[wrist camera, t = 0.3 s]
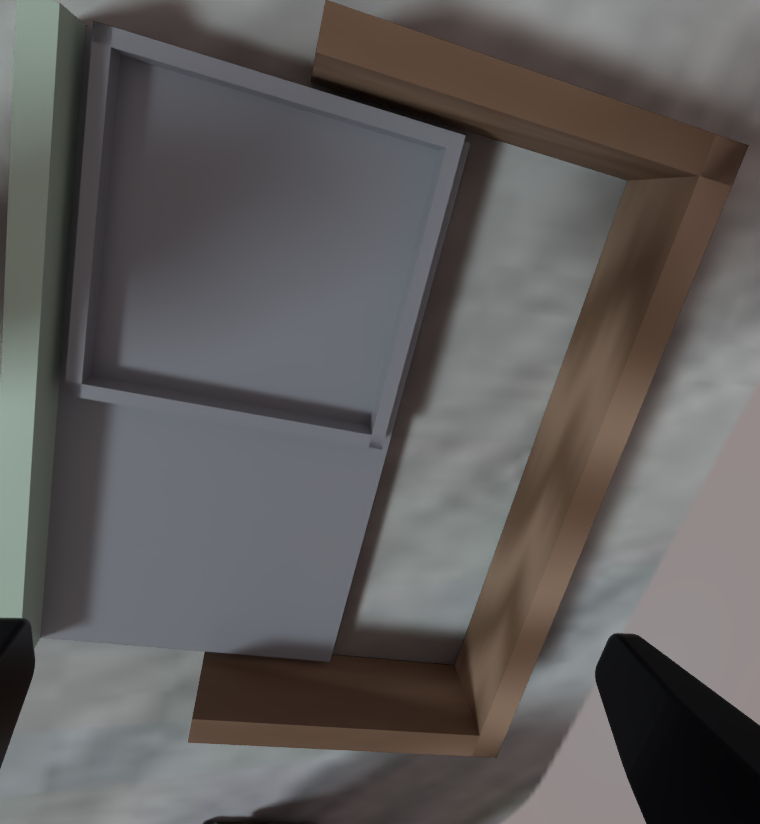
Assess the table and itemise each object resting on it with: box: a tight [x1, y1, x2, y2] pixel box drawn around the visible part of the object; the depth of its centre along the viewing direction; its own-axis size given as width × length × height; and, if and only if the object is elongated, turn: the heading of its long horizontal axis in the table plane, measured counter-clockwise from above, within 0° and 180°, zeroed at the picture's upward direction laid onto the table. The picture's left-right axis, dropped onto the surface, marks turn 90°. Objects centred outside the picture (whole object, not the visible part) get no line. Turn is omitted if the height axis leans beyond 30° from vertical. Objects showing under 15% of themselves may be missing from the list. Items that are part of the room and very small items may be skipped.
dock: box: [188, 0, 749, 758], centre depth 22 cm, size 25×13×4 cm, turn 166°
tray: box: [0, 0, 471, 662], centre depth 20 cm, size 22×13×3 cm, turn 166°
